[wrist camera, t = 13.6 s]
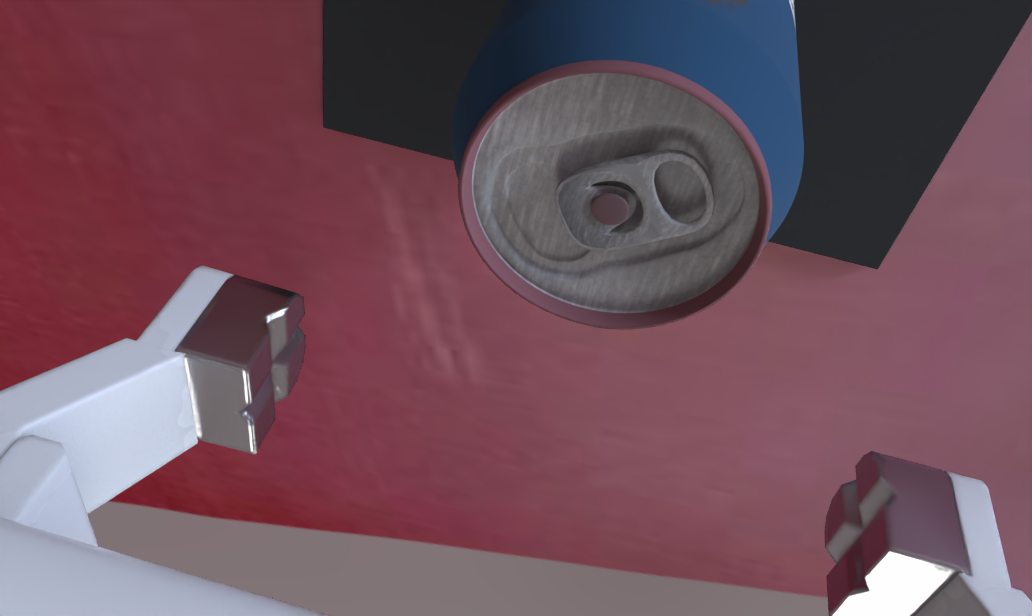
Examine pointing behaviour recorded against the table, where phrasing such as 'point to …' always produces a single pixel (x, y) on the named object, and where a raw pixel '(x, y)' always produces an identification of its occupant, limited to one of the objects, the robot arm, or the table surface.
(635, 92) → the soda can
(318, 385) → the table surface
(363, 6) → the mat
